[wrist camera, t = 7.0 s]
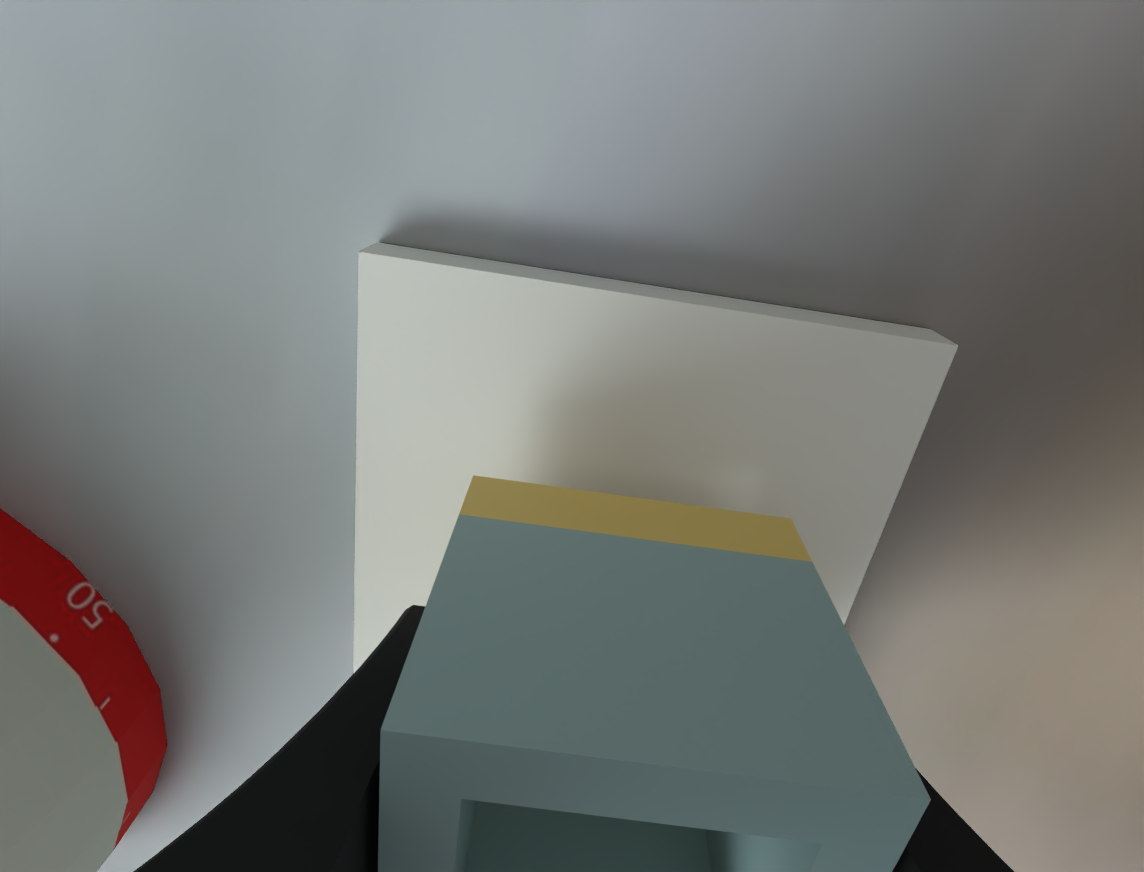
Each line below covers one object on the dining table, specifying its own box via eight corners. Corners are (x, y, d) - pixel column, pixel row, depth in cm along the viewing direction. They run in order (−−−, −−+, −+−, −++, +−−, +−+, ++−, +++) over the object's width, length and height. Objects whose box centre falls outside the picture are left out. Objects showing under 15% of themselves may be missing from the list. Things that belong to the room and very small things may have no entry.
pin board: (931, 329, 12) (1078, 416, 8) (766, 754, 17) (814, 929, 13) (376, 241, 12) (277, 293, 8) (366, 700, 16) (299, 865, 13)
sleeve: (718, 743, 13) (782, 1073, 8) (454, 709, 13) (375, 1026, 8) (790, 518, 11) (931, 798, 6) (473, 475, 11) (380, 729, 6)
